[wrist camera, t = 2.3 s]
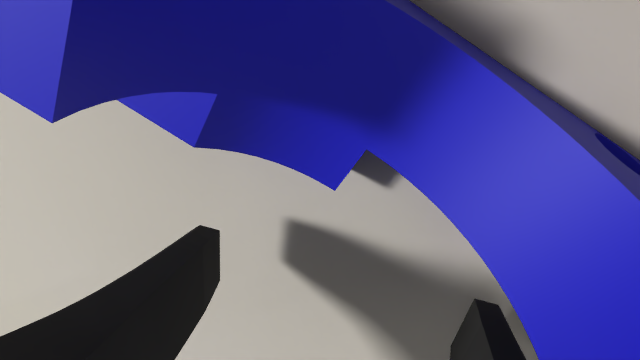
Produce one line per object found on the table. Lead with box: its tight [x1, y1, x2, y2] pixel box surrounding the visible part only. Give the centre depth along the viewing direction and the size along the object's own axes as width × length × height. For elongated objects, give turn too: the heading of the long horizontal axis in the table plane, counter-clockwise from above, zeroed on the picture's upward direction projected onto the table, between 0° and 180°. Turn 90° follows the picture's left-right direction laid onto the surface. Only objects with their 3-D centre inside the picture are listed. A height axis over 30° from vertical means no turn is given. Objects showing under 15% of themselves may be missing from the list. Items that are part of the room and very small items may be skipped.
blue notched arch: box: [0, 0, 640, 360], centre depth 8 cm, size 12×4×6 cm, turn 60°
